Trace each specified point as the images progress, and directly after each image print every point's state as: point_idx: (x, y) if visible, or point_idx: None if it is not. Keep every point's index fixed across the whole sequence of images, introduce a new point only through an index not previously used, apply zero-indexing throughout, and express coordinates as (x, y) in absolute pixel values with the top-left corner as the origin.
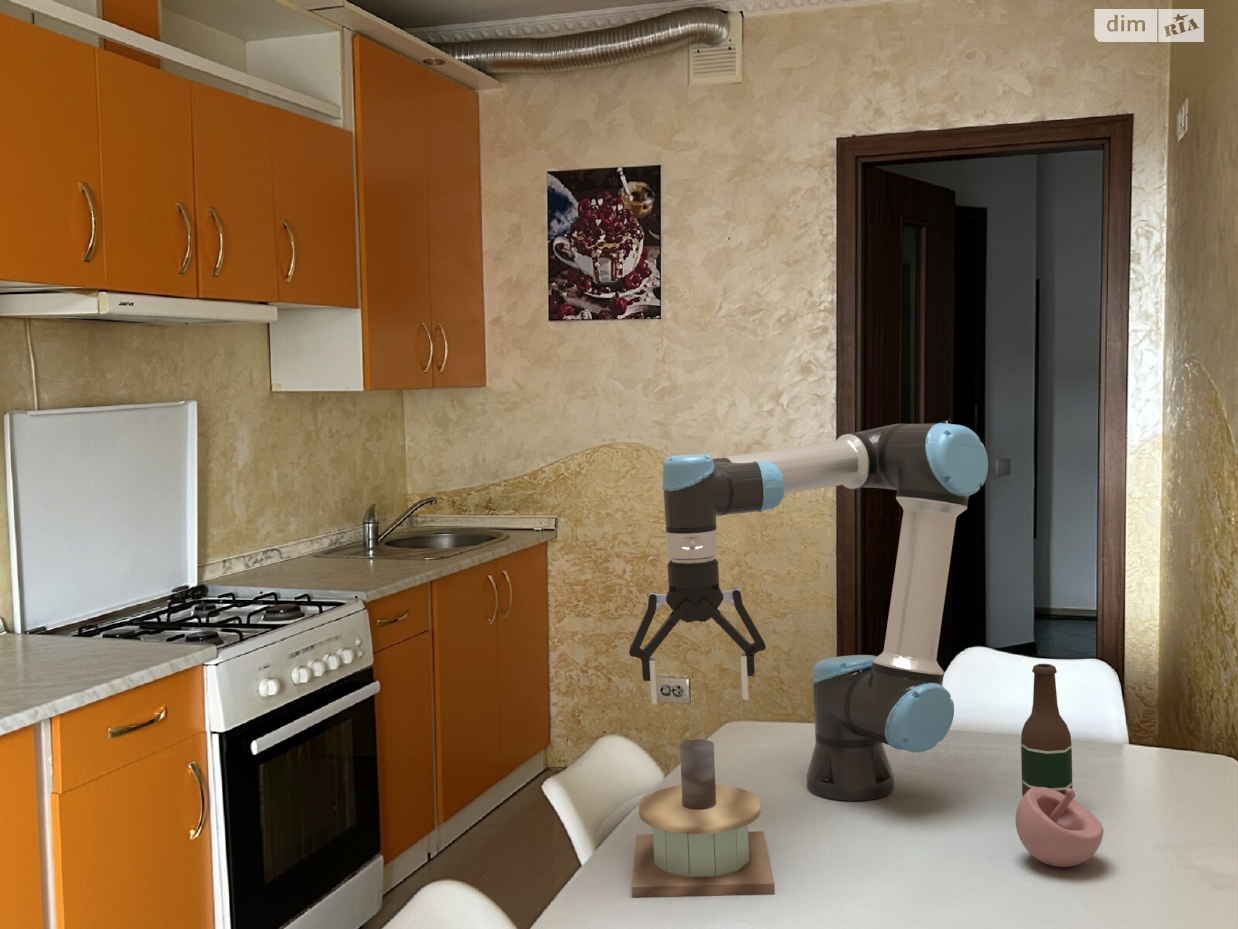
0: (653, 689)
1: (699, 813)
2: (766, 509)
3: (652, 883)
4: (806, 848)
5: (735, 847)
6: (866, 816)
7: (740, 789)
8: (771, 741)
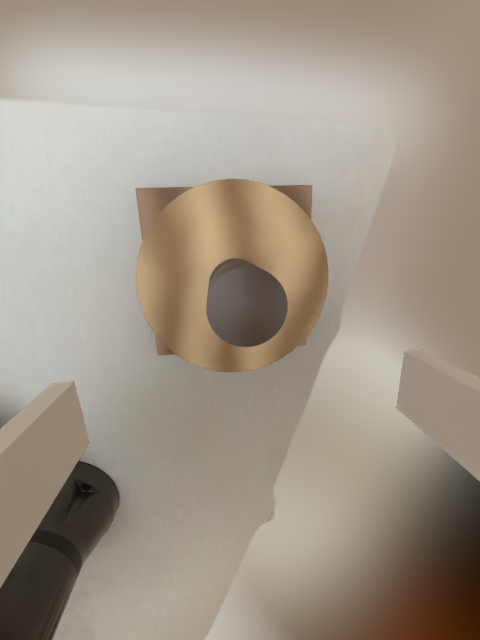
0: (464, 375)
1: (234, 240)
2: None
3: (288, 194)
4: (108, 329)
5: None
6: None
7: (172, 348)
8: (164, 604)
